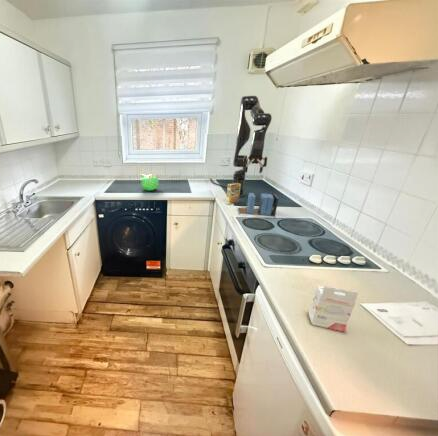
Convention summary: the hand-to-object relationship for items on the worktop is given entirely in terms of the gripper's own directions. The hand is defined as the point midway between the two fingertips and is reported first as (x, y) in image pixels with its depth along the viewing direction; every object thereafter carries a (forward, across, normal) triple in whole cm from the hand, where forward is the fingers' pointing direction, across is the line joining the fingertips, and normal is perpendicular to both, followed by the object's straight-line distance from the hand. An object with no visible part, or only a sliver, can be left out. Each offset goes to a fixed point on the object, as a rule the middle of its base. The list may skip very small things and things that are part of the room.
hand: (253, 172), depth 158 cm
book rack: (+27, -5, +5) cm, 28 cm away
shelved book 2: (+26, -12, +5) cm, 29 cm away
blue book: (+26, -1, +5) cm, 26 cm away
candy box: (+27, +9, -13) cm, 31 cm away
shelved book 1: (+26, -9, +5) cm, 28 cm away
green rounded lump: (+28, +80, -34) cm, 91 cm away
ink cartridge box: (+25, -12, +101) cm, 105 cm away
